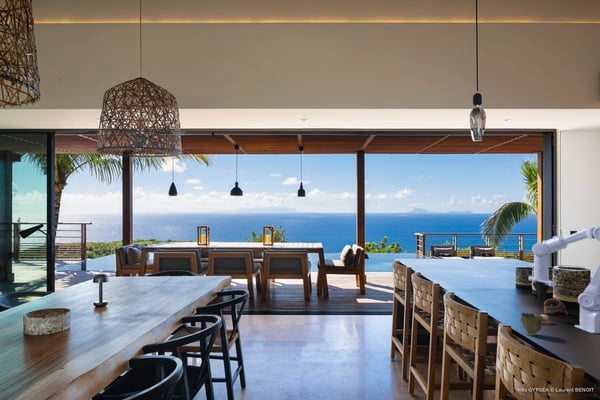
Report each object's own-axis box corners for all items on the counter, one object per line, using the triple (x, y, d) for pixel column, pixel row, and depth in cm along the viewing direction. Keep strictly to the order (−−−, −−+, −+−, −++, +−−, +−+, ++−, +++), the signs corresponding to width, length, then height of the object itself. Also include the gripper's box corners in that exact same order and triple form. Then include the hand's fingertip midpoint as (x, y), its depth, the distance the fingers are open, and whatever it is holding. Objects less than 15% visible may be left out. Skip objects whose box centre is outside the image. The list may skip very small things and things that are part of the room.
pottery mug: (573, 318, 178) (568, 303, 176) (553, 325, 179) (548, 311, 178) (557, 305, 189) (552, 291, 188) (539, 312, 191) (533, 299, 189)
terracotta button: (549, 319, 166) (549, 316, 166) (543, 319, 166) (543, 316, 166) (545, 318, 169) (545, 314, 169) (538, 318, 169) (538, 314, 169)
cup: (522, 330, 155) (522, 311, 156) (544, 334, 151) (544, 314, 151) (519, 335, 150) (519, 314, 150) (541, 339, 145) (541, 318, 145)
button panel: (551, 324, 165) (551, 321, 165) (527, 324, 164) (527, 321, 164) (544, 321, 170) (543, 318, 170) (520, 321, 169) (520, 318, 169)
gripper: (522, 266, 181) (522, 295, 180) (544, 271, 166) (544, 303, 166) (536, 266, 181) (536, 295, 181) (559, 271, 167) (559, 303, 166)
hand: (541, 299), depth 173 cm, fingers closed
